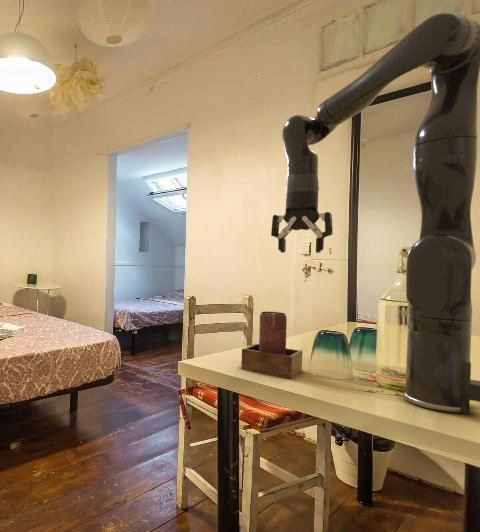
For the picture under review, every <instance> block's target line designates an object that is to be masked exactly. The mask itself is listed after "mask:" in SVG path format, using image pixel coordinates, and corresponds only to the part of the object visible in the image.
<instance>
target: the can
mask: <svg viewBox="0 0 480 532" xmlns="http://www.w3.org/2000/svg"><path fill="white" fill-rule="evenodd" d="M287 317H288V316H287V315H286V313H284V312H280V311H261V312H260V314H259V333H258V335H259V336H258V337H259V338H258V344H259V351H261V352H267V353H273V354H279V355H285V356H286V348H287V325H288V323H287V322H288V318H287Z"/></svg>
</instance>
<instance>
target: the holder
mask: <svg viewBox="0 0 480 532" xmlns="http://www.w3.org/2000/svg"><path fill="white" fill-rule="evenodd" d="M240 367H241V370H245V371H251V372H255V373H259V374H260V373H261V374H266V375H270V376H277V377H280V378H285V379H290V380H291V379H293V378H294V377H296V376H297V375H298V374H300V373H301V372H302V371H303V350H300V349H294V348H287V347H286V356H285V355H279V354H273V353H267V352H261V351H259V343H253V344H251V345H248V346H245V347H243V348H241V366H240Z"/></svg>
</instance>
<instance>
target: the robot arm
mask: <svg viewBox="0 0 480 532" xmlns="http://www.w3.org/2000/svg"><path fill="white" fill-rule="evenodd" d="M419 68H425V69H428V71H429V73H430V82H431V87H430V88H431V89H430V90H431V94H430V100H429V105H428V108H427V110H426V112H425V114H424V115H423V118H422V120H421V121H420V123H419V125H418V128H417V130H416V132H415V135H414V139H413V150H412V151H413V152H412V153H413V155H412V168H413V177H414V183H415V188H416V193H417V198H418V201H419V207H420V214H421V217H420V218H421V220H420V231H419V232H420V233H419V239H418V240H417V241H416V242H414V243H413V244H412V246H411V247H410V249H409V250H408V252H407V256H406V266H405V267H406V269H405V270H406V271H405V272H406V273H405V276H406V277H405V282H406V283H405V298H406V302H407V309H408V310H407V331H406V335H407V337H406V359H405V360H406V361H405V362H406V363H405V386H404V400H405V401H407V402H408V403H410V404H413V405H416V406H419V407H422V408H425V409H430V410H433V411H440V412H446V413H454V414H455V413H457V414H464V415H470V405H471V404H470V403H471V401H473V402H480V380H476V379H472V378H471V377H472V376H471V375H472V363H471V352H472V351H471V350H472V349H471V348H472V325H473V324H472V322H473V321H472V319H473V302H472V273H473V272H472V270H473V269H474V267H475V265H476V261H477V255H476V251H475V243H474V238H473V237H474V236H473V228H472V216H471V215H472V214H471V210H472V209H471V208H472V200H473V195H474V190H475V189H474V188H475V183H476V174H477V173H476V172H477V162H478V87H479V78H480V22H478V21H476V20H475V19H473V18H470V17H467V16H464V15H461V14H459V13H457V12H452V11H451V12H450V11H445V12H443V11H442V12H439V13H436V14H433V15H431V16H429V17H428V18H426V19H424V20H423V21H422V22H420V23H419V24H418V25H417V26H415V27H414V28H413V29H412V30H411V31H409V32H408V33H407V34H406V35H405V36H403V37H402V39H400V40H399V41H398V42H397V43H396V44H395V45H394V46H392V47H391V48H390V49H389V50H387V52H386V53H384V55H382V56H381V57H380V58H379V59H378V60H377V61H376V62H375V63H373V64H372V65H371V66H369V68H368V69H366V70H365V71H364V72H363V73H361V74H360V75H359V76H358V77H356V78H355V79H354V80H352V81H351V82H349V83H348V84H347V85H345V86H344V87H343V88H341V89H340V90H338V91H336V92H335V93H333V94H332V95H331V96H329V97H328V98H326V99H325V100H324V101H322V102H321V103H320V104H319V105H318V107H317V108H316V116H314V117H312V116H307V115H301V114H295V115H293V116H291V117H289V118H288V119H287V120H286V121H285V123H284V125H283V127H282V132H281V133H282V135H281V137H282V143H283V147H284V152H285V155H286V158H287V179H286V186H285V187H286V189H285V213H284V215H277V214H273V215H272V221H271V231H270V235H271V237H273V238H274V237H275V238H276V239H277V240H278V241H277V242H278V243H277V249H278V251H280V253H283V254H284V253H286V247H287V246H286V245H287V239H286V237H287V236H288V235H289V234H290V233H291V232H292V231H301V230H302V231H309V230H310V231H312V232H313V233H314V234H315V236H316V237H317V238H315V253H316V254H317V253H318V254H320V253H321V252H322V251H323V250H324V247H325V246H324V245H325V244H324V243H325V238H327V237H330V236H331V237H332V235H333V214H332V213H331V212H329V211H326V212H322V213H321V212H320V213H319V191H320V187H319V174H318V173H319V157H318V154H317V153H316V152H314V151H313V150H311V149H310V147H309V146H313V145H316V144H318V143H320V142H322V141H323V140H324V139H326V138H327V137H328V136H329V135H330V134H331V133H332V132H333V131H335V129H336V128H337V127H338V126H339V125H341V124H343V123H345V122H346V121H348V120H350V119H351V118H353V117H354V116H356V115H358V114H360V113H361V112H362V111H364V110H366V108H368V107H369V106H370V105H371V104H372V103H373V102H374V101H375V100H376V98H377V97H378V96H379V95H380V94H381V92H382V91H383V90H384V89H385V88H386V87H387V86H389V85H390V84H391V83H392V82H394V81H395V80H397V79H399V78H401V76H404V75H405V74H408V73H409V72H412V71H414V70H416V69H419ZM320 218H321V220H322V221H323V222H324V231H322V230H321V229H320V227H318V225H317V224H316V223H318V220H319V219H320ZM283 220H284V222H285V223H286V224H285V226H284V227H283V228H282V230H281V231H280V224H281V223H282V222H283Z"/></svg>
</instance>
